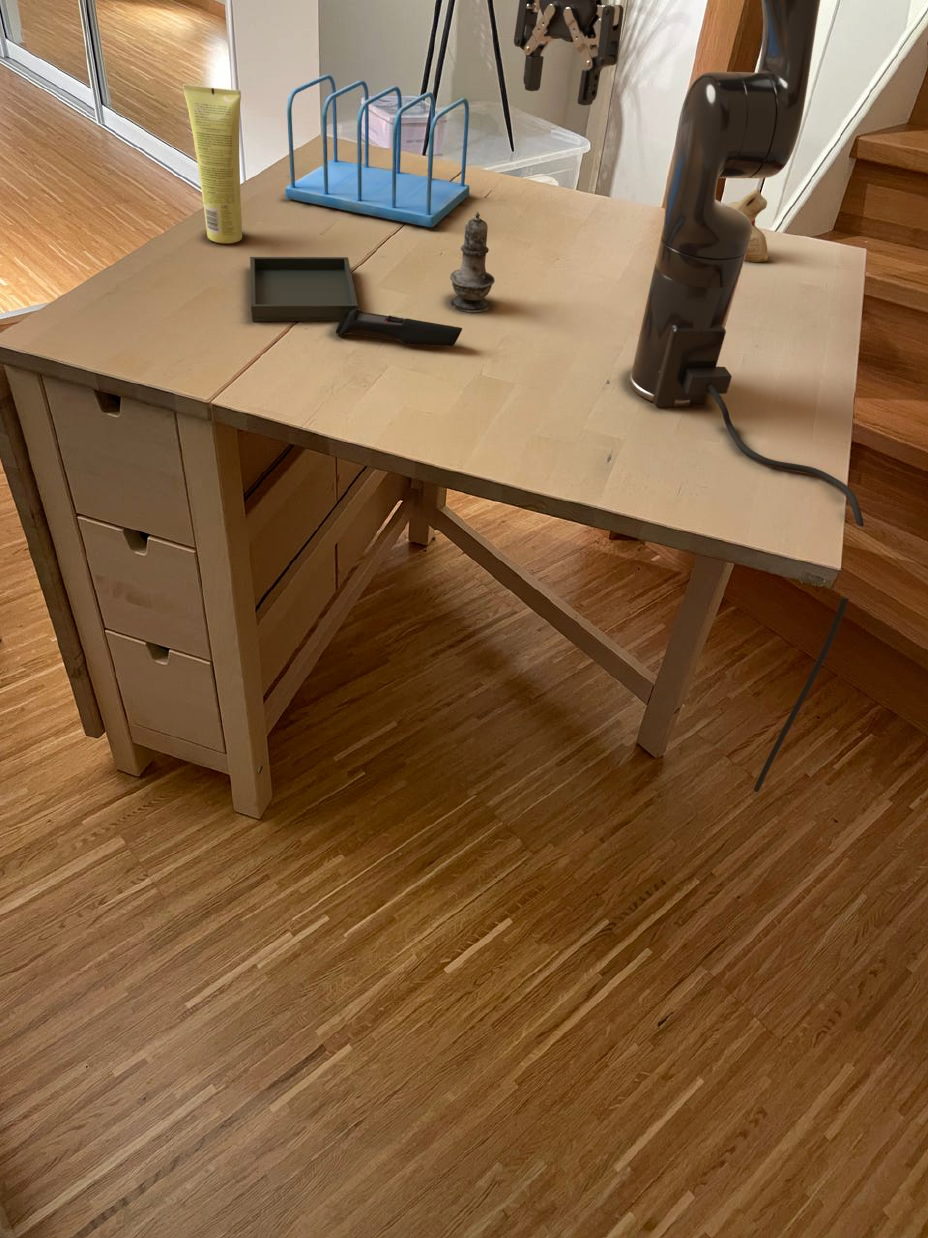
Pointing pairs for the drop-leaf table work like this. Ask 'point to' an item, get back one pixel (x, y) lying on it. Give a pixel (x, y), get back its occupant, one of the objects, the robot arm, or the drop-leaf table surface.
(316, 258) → the tray
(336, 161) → the file sorter
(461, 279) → the salt shaker
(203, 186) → the tube
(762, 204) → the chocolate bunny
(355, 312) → the electric trimmer
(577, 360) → the drop-leaf table surface
